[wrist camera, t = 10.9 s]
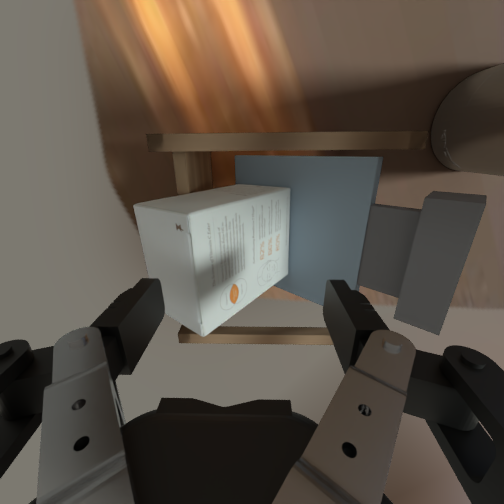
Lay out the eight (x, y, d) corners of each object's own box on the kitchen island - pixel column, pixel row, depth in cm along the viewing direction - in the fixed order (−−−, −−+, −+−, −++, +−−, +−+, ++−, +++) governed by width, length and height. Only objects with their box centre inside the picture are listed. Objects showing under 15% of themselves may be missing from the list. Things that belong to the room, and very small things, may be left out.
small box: (240, 182, 23) (129, 200, 15) (293, 186, 20) (186, 211, 12) (243, 261, 26) (152, 308, 18) (289, 275, 23) (202, 340, 15)
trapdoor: (499, 157, 13) (501, 159, 11) (436, 335, 18) (430, 360, 16) (249, 154, 24) (226, 155, 22) (250, 265, 29) (232, 274, 27)
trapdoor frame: (344, 139, 26) (428, 130, 13) (328, 265, 32) (377, 345, 19) (201, 141, 26) (146, 133, 13) (211, 264, 32) (179, 343, 19)
